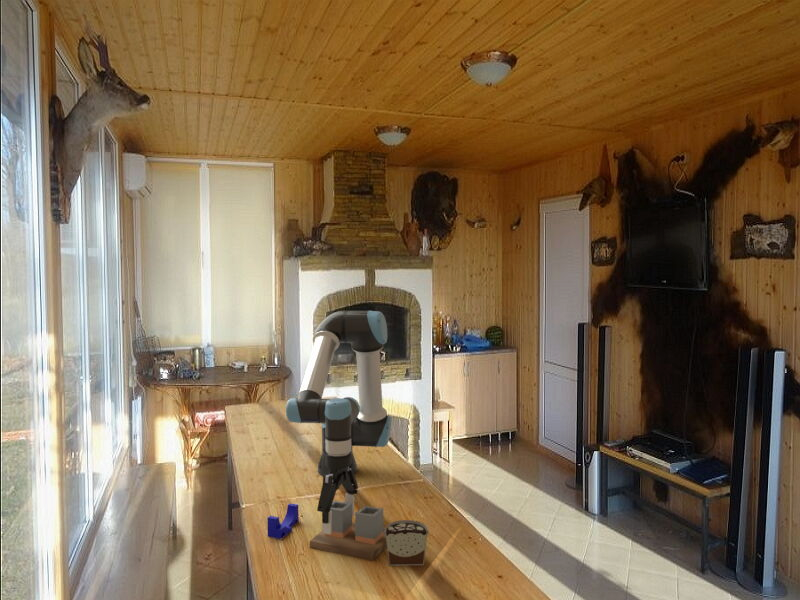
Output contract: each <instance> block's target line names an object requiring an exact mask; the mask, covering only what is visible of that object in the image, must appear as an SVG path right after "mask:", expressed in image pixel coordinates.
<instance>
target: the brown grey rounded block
mask: <svg viewBox="0 0 800 600" xmlns="http://www.w3.org/2000/svg"><path fill="white" fill-rule="evenodd" d="M384 528H385V531H384V535H385V533H386V542H387V547H386V550H387V551H386V552H387V561H388V566H399V567H400V566H424V565H425V557H426V548H427V539H428V536H430V532H429V529H428V526H427V525H426V524H424V523H423V522H421V521H417V520H410V519H403V520H395V521H392V522H390V523H389V524H387V525H386V526H385V527H384ZM383 537H384V536H383Z"/></svg>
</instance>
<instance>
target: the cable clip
mask: <svg viewBox="0 0 800 600" xmlns="http://www.w3.org/2000/svg"><path fill="white" fill-rule="evenodd" d="M299 516H300V515H299V504H295V503H291V502H290V503H289V504H287V509H286V514H285V517H284V519H283V521H282V522H281V523H280V517H279V516H275V515H269V516H267V537H270V538H273V539H277V540H282V539H283V538H284V537H285V536H287V535H288V534H289V533H291V532H292V531H293V527H294V525H296V523H299V521H300V518H299ZM281 538H282V539H281Z"/></svg>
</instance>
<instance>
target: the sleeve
mask: <svg viewBox="0 0 800 600" xmlns="http://www.w3.org/2000/svg"><path fill="white" fill-rule="evenodd" d="M337 508H342V509H337ZM330 511H332V534H331V535H330V534H325V535H328V536H333V537H338V538H344V537H345V536H346V535H347V534H348V533H350V532H351V531H352V522H353V516H352V503H346V502H345V501H340V500H339V501H338V500H333V503H332V506H331V509H330Z"/></svg>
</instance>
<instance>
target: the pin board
mask: <svg viewBox="0 0 800 600" xmlns="http://www.w3.org/2000/svg"><path fill="white" fill-rule="evenodd" d="M337 509H342V508H337ZM366 514H372V515H373V513H366ZM385 528H386V527H383V536H384V537H382V538H381V539H380V540H379V541H378V542H377V543H376V544H375V545H374V544H369V543H364V542H359V541H355V521H354V522H353V521H352V531H351V532H350V533H348V534H347V535H346V536H345V537H344V538H338V537H333V536H328V535H325V533H322V531H320V532H319V533H318V534H317V535H315V536H314V537H313V538H311V539H310V540H309V548H310V549H314V550H319V551H324V552H329V553H334V554H338V555H339V554H340V555H344V556H349V557H353V558H357V559H358V558H359V559H363V560H366V561H367V560H368V561H372V562H373V561H375V560H376V558H377V557H379V556H380V554H382V552H384V550H386V549H387V542H386V533H385V535H384V531H385Z"/></svg>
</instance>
